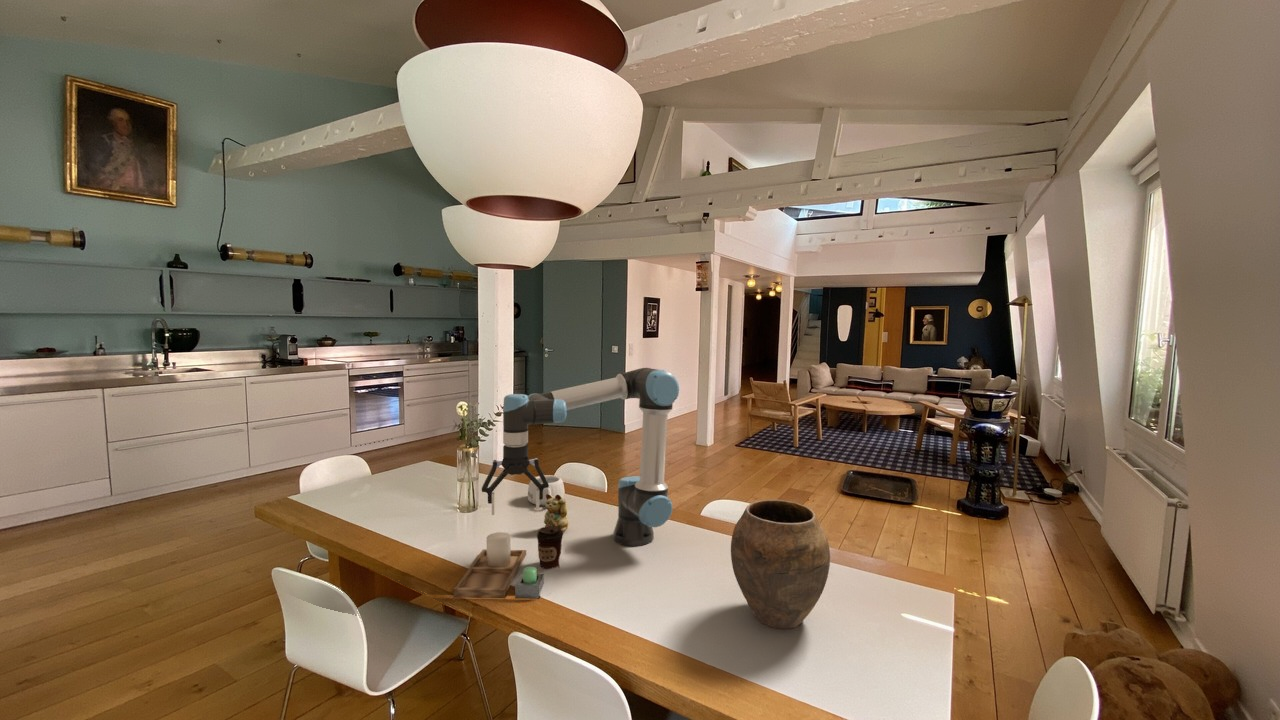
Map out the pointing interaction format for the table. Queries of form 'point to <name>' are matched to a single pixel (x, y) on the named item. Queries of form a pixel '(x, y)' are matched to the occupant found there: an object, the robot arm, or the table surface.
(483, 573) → the wooden tray
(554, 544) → the coffee cup
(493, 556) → the seated billet
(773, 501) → the vase
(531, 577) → the button
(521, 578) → the button housing
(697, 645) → the table surface
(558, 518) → the decorative figurine
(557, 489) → the mug
